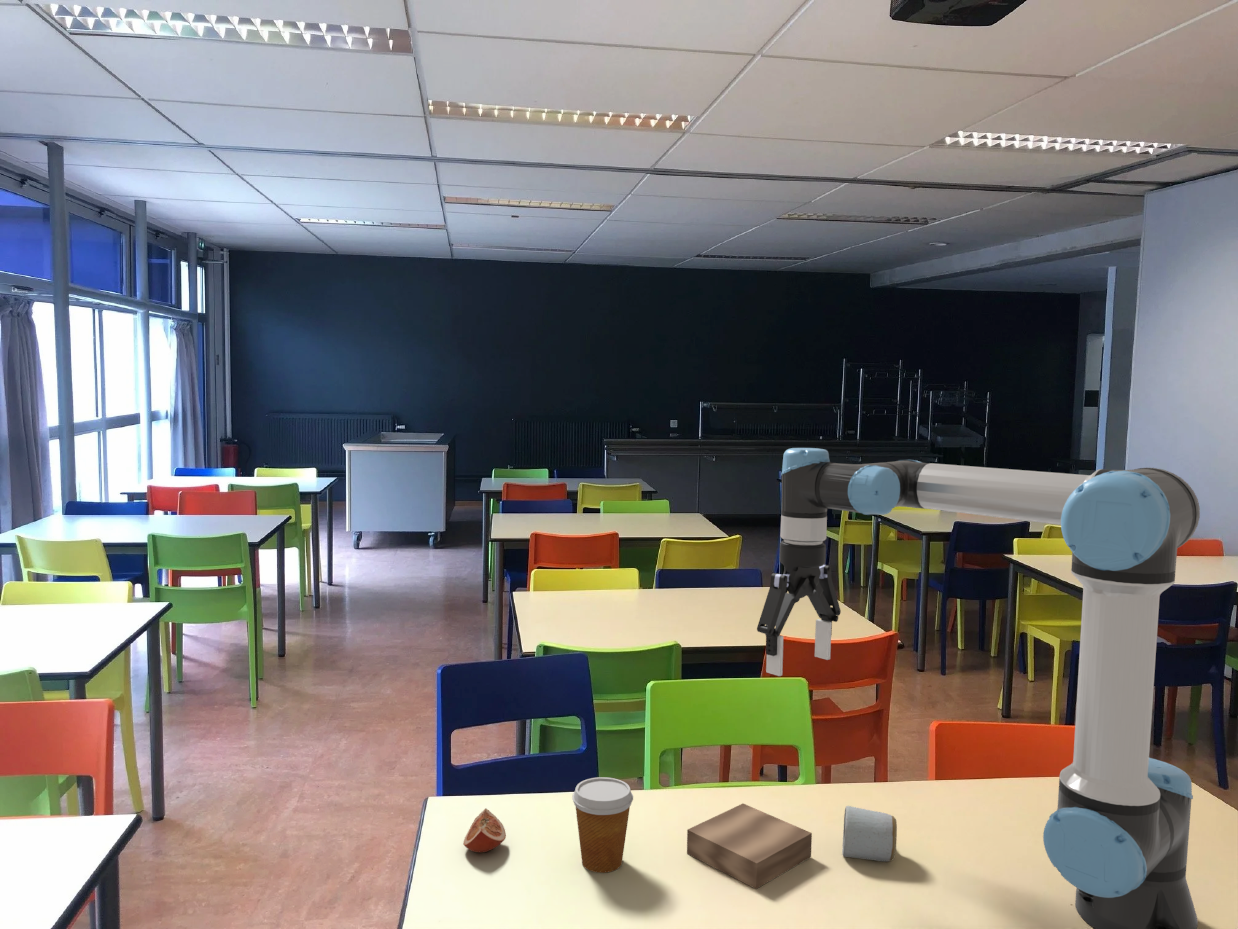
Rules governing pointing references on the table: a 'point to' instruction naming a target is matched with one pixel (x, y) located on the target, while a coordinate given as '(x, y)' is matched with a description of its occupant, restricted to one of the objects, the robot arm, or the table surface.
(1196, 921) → the robot arm
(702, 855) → the block
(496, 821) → the fruit slice
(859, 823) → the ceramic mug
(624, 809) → the disposable coffee cup
